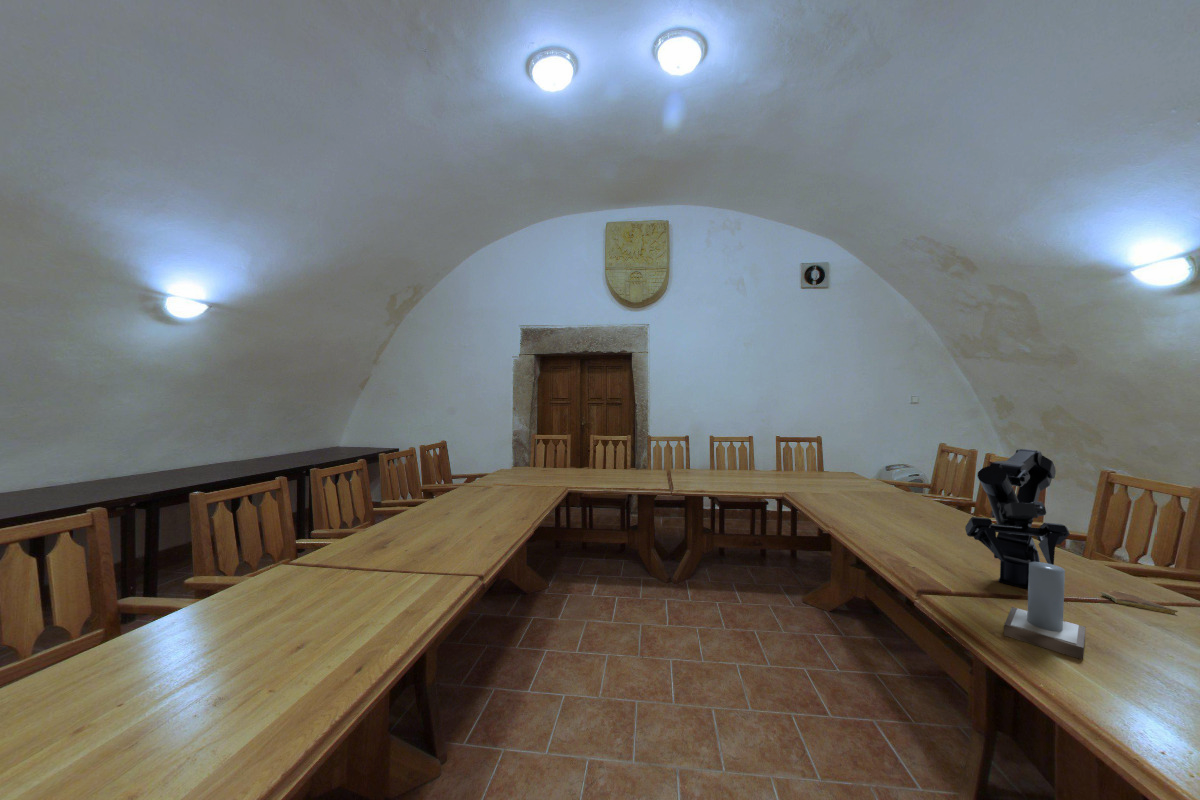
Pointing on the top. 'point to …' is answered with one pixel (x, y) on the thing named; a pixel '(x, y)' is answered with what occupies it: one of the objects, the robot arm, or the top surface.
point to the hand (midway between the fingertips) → (1026, 563)
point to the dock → (1046, 634)
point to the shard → (1136, 601)
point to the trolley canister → (1046, 596)
